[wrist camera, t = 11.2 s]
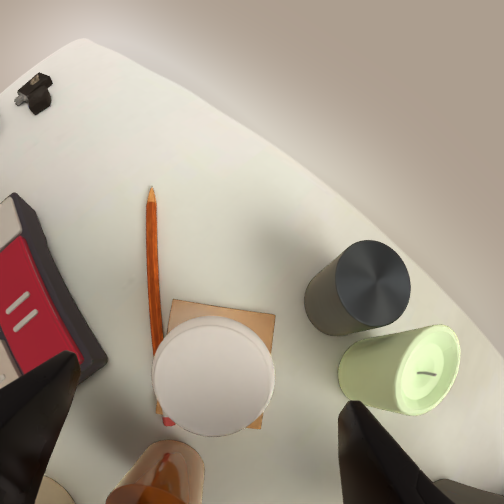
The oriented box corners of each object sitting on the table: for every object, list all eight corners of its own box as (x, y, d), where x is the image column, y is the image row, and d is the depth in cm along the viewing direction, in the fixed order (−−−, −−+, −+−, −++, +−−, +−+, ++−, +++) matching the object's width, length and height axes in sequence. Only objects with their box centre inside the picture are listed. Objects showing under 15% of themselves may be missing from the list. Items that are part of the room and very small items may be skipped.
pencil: (164, 424, 17) (163, 426, 16) (147, 187, 23) (146, 183, 22) (176, 423, 17) (174, 426, 16) (157, 186, 23) (156, 182, 22)
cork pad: (260, 427, 17) (260, 429, 17) (156, 412, 17) (155, 413, 17) (274, 315, 20) (275, 314, 20) (173, 299, 20) (172, 298, 19)
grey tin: (364, 338, 20) (411, 329, 15) (301, 332, 20) (332, 323, 14) (366, 274, 22) (409, 247, 16) (306, 264, 22) (336, 232, 16)
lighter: (63, 78, 24) (29, 107, 22) (68, 90, 26) (36, 118, 24) (37, 68, 25) (8, 94, 23) (41, 79, 27) (13, 104, 25)
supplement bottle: (158, 353, 18) (105, 349, 9) (227, 313, 19) (237, 275, 10) (201, 422, 17) (188, 479, 8) (271, 381, 18) (320, 402, 9)
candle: (397, 393, 19) (472, 399, 11) (341, 411, 18) (405, 433, 10) (390, 332, 21) (463, 315, 13) (333, 345, 20) (396, 335, 12)
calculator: (-3, 434, 11) (-65, 264, 13) (25, 424, 15) (-38, 276, 17) (91, 363, 14) (10, 184, 16) (113, 360, 18) (34, 207, 20)
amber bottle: (201, 496, 15) (193, 593, 5) (140, 484, 15) (87, 566, 4) (207, 445, 17) (200, 530, 6) (144, 433, 16) (77, 497, 6)
